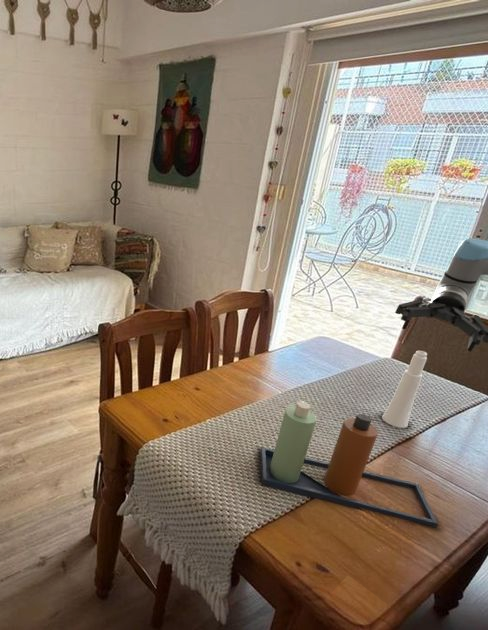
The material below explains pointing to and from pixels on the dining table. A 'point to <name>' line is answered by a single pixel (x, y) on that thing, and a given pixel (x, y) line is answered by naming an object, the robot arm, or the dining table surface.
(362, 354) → the dining table surface
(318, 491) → the tray
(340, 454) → the amber bottle
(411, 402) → the cosmetic bottle
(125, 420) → the dining table surface
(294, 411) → the sage bottle
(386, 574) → the dining table surface
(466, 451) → the dining table surface
